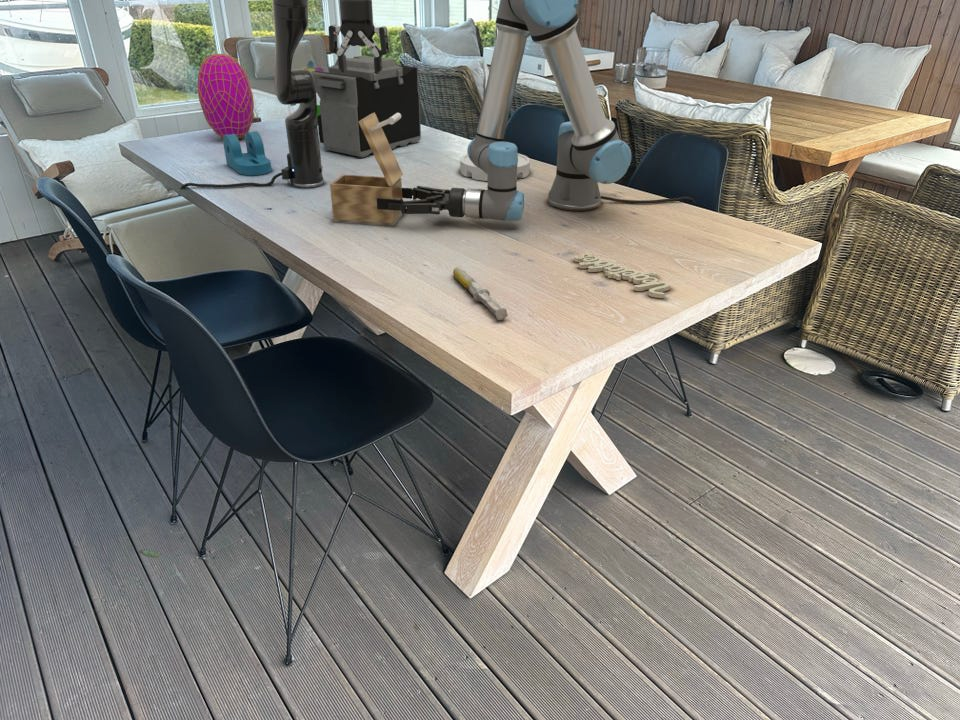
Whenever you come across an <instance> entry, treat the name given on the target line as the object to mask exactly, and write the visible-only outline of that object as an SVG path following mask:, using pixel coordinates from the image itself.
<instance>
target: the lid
mask: <svg viewBox="0 0 960 720" xmlns="http://www.w3.org/2000/svg"><path fill="white" fill-rule="evenodd" d="M399 119H401V114H400V113H396V114H395V115H393V116H392V117H390V118H389V119H387V120H385V121H382V122H380V123H379V121H378V119H377V116H376V114H375V112H374V113H372V114H370V115H368V116H367V117H365V118H363V119H362V120H360V121H359V124H360V126H361V128H362V131H363V133H364V135H365V137H366V139H367V141H368V143H369V145H370V147H371V150H372V152H373V153H372V154H373V156H374V158H375V160H376V162H377V164H378V166H379V168H380V171H381V173H382V175H383V177H385V179H386V181H387V183H388V186H391V185H393V184H394V183H395V182H396V181H397V180H398V179H399V178H402V177H403V176H404V172H403V171H402V169H401V167H400V164H399V162H398V161H397V160H398V159H397V157H396V156H395V153H394V151H393V149H391V147H390V145H389V143H388V140H387V138H386V136H385V134H384V132H383V130H382V126H385V125H387V124H391V125H392V124H394V123H395V122H397V121H398V120H399Z"/></svg>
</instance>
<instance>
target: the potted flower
mask: <svg viewBox="0 0 960 720" xmlns="http://www.w3.org/2000/svg"><path fill="white" fill-rule="evenodd" d="M301 69H307V70H309V71H310V72H313V71H321V72H325V68H324V67H322V66H315V64H314V61H313V60H312V59H309V60H308V61H307V62H306V67H305V66H302V68H301ZM317 114H318V116H319V115H321V111H320V104H317ZM317 125H318V120H317Z"/></svg>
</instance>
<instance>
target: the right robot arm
mask: <svg viewBox="0 0 960 720" xmlns="http://www.w3.org/2000/svg"><path fill="white" fill-rule="evenodd" d="M578 4H579V0H499V5H498V9H497V13H496V17H495V23H494V25H495V27H496V29H497V35H496V38H495V44H494V47H493V52H492V56H491V57H492V58H491V61H490V67H489V71H488V76H487V81H486V85H485V89H484V95H483V100H482V105H481V109H480V114H479V119H478V123H477V129H476V132H475V136H474V138H473V139H472V140H471V141H470V142H469V144H468V147H467V150H466V151H467V154H468V157H469V159H470V160H471V161H472V163H473V164H474V165H475V166H476V167H478V168H480V169H481V170H483V171H484V172H485V173H486V174H487V175H488V181H487V187H486V188H487V189H483V188H467V189H465V188H464V187H451V188H450V189H441V188H436V187H429V186H422V185H416V187H402V199H400V200H398V199H383V198H377V209H383V210H398V211H401V213H402V214H403V215H427V214H428V215H430V214H432V215H440V214H441V212H442V211H448V215H449V217H452V218H463V217H465V218H468V219H474V221H477V220H478V219H481V220H482V219H483V220H494V221H504V222H515V221H521V220H522V218H523V216H524V211H525V193H524V192H522V191H519V190H518V188H517V180H518V178H517V163H518V154H519V152H518V147H517V145H516V144H515V143H514V142H509V141H505V135H506V130H507V125H508V122H509V117H510V113H511V108H512V105H513V100H514V97H515V92H516V87H517V83H518V80H519V75H520V71H521V66H522V62H523V58H524V55H525V54H524V53H525V50H526V45H527V40H528V38H529V37H530V38H531V40H532V42H533V43H534V44H536V45H537V44H538V45H539V46H540V47H541V49H542V51H543V54H544V57H545V59H546V61H547V65H548V66H549V70H550V72H551V75H552V77H553V80H554V82H555V85H556V88H557V91H558V93H559V95H560V98H561V101H562V103H563V106H564V109H565V111H566V114H567V116H568V119H569V121H565V122H562V123H561V124H560V125H559V130H558V134H557V152H556V153H557V155H556V171H555V178H554V179H553V182H552V185H551V187H550V190H549V192H548V194H547V196H548V197H547V203H548V204H549V205H550V206H552V207H553V208H556V209H561V210H565V211H571V212H573V211H574V212H583V211H591V210H594V209H595V210H596V209H597V208H599V207H600V206H601V201H602V200H605V201H611V202H615V203H624V204H658V203H668V202H672V203H673V202H679V201H684V200H685V201H689V202H690V203H691V204H696V200H694V199H693V198H692V197H690V196H679V197H674V198H673V197H672V198H661V199H650V200H649V199H646V200H645V199H642V200H641V199H640V200H638V199H622V198H615V197H611V196H606V195H605V196H604V195H601V191H600V187H599V184H603V185H611V184H613V183H616V182H618V181H620V180H621V179H622V178H623V177H624V176H625V175H626V173H627V172H628V169H629V167H630V166H631V163H632V151H631V148H630V146H629V145H628V144H627V143H626V141H624V140H623V139H622V140H621V139H620V136H619V133H618V129H617V127H616V124H615V122H614V121H613V120H610V119H608V118H607V117H606V115H605V111H604V108H603V105H602V103H601V100H600V97H599V94H598V91H597V89H596V86H595V82H594V79H593V77H592V74H591V71H590V68H589V64H588V62H587V60H586V56H585V54H584V51H583V47H582V45H581V42H580V39H579V36H578V33H577V30H576V28H577V25H578V23H579V20H580V19H579V15H578V13H577V6H578ZM404 199H405V200H404ZM406 199H409V200H406Z"/></svg>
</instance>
